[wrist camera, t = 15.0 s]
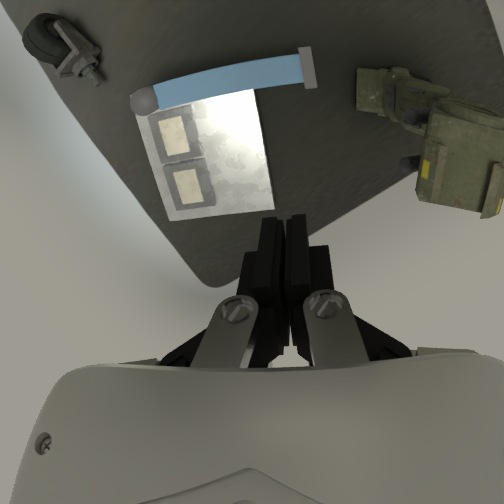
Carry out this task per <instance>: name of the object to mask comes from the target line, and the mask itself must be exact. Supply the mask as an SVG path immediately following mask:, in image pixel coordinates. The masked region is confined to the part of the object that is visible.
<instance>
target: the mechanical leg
mask: <svg viewBox="0 0 504 504" xmlns="http://www.w3.org/2000/svg"><path fill="white" fill-rule="evenodd" d="M388 71H389V72H388ZM356 72H357V78H356V109H357V110H358V111H365V112H372V113H378V114H377V115H378V116H384V117H386V116H388V117H389V120H390V121H393V122H399V123H400V125H401V126H402V127H403V128H405V129H406V130H408V131H411V132H414V133H417V134H420V135H423V142H422V150H421V155H417V156H410V157H404V158H402V159H401V160H400V163H399V167H400V169H401V170H402V172H404V173H411V172H416V171H418V178H417V183H416V189H415V191H416V194H417V196H418V198H419V201H423V202H429V203H434V204H440V205H445V206H450V207H455V208H460V209H465V210H470V211H475V212H480V213H482V214H481V217H480V219H484V218H490V217H493V216H495V215H497V214H499V211H500V209H501V205H502V202H503V198H504V115H502V114H500V113H498V112H497V111H496V110H495V109H494V108H493V107H491V106H488V105H486V104H483V103H481V102H477V101H473V100H469V99H465V98H462V97H459V96H456V95H454V94H452V93H451V92H450V90H449V89H448V88H446V87H443V86H440V85H437V84H434V83H432V82H431V81H430V80H429V79H427V78H423V77H420V76H416V75H413V74H409V71H408V69H405V68H401V67H391V69H382V68H380V69H379V70H377V69H367V68H357V69H356Z"/></svg>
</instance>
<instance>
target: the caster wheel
mask: <svg viewBox="0 0 504 504" xmlns="http://www.w3.org/2000/svg"><path fill="white" fill-rule="evenodd" d="M22 41H23V43H24V47H25V48H26V49H27V51H28V52H29V53H30V54H31V55H32V56H34V57H35V58H37V59H38V60H40V61H42V62H45V63H47V65H48V66H49V67H50V69H51V70H52V71H53V73H54V74H55V75H56V77H57V78H62V77H67V76H74V75H75V76H76V77H78V78H82V77H84V76H86V77H88V78H89V80H90V81H91V82H92V83H93V85H94V86H95V87H98V86H99V85H100V84H101V83H102V82H101V80H100V79H99V78H98V76H97V75H96V73H95V72H94V70H95V68H96V67H97V65H98V63H99V62H98V60H97V59H96V57H97V56H98V55H99V54H100V52H101V50H100V49H99V48H98V47H94V46H93V45H92V44H91V43H90V42H89V41H88V40H86V39H85V38H84V37H83V36H82V35H81V34H80V33H79V32H78V30H77V29H76V28H75V27H74V26H73V25H72V24H71V23H70V22H68V21H67V20H66V19H64V18H62V17H60V16H58V15H55V14H50V13H42V14H39V15H37V16H36V17H35V18H33V19H32V20H31V22H30V23H29V25H28V26H27V27H26V29H25V30H24V33H23V38H22Z"/></svg>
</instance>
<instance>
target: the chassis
mask: <svg viewBox="0 0 504 504" xmlns="http://www.w3.org/2000/svg"><path fill="white" fill-rule="evenodd" d="M131 96H132V95H130V97H131ZM135 115H136V118H137V122H138V125H139V129H140V132H141V135H142V138H143V142H144V145H145V148H146V151H147V154H148V158H149V161H150V164H151V167H152V170H153V173H154V176H155V179H156V182H157V185H158V188H159V191H160V194H161V197H162V200H163V203H164V206H165V209H166V212H167V214H168V217H169V220H170V221H177V220H184V219H192V218H200V217H208V216H217V215H225V214H234V213H243V212H252V211H261V210H271V209H275V197H274V192H273V186H272V180H271V174H270V168H269V163H268V157H267V151H266V146H265V140H264V135H263V129H262V124H261V119H260V113H259V108H258V103H257V97H256V92H255V89H252V90H247V91H241V92H236V93H231V94H226V95H221V96H216V97H211V98H207V99H202V100H198V101H194V102H190V103H186V104H182V105H178V106H174V107H170V108H167V109H163V110H160V109H158V110H156V111H154V112H153V113H151V114H149V115H147V116H139V115H137V114H135Z"/></svg>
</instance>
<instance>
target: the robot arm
mask: <svg viewBox="0 0 504 504" xmlns="http://www.w3.org/2000/svg"><path fill="white" fill-rule="evenodd" d="M290 327H291V334H292V341H293V346H297V351H298V354H299V355H300V356H302V357H303V358H304V359H305V360H307V361H308V364H309V366H306V367H284V368H283V367H282V368H272V360H273V359H275V358H276V357H277V356H279V355H283V350H284V346H289V334H290ZM10 504H504V362H503V361H502V360H499V359H497V358H494V357H491V356H487V355H481V354H478V353H477V352H475V351H473V350H468V349H444V348H425V347H418V348H417V350H409V348H408V347H407V346H405V345H404V344H403V343H401V342H399V341H398V340H396V339H394V338H393V337H391V336H389V335H388V334H386V333H384V332H382V331H381V330H379V329H377V328H376V327H374V326H372V325H371V324H369V323H367V322H365V321H364V320H362V319H360V318H359V317H357V316H356V315H354V314H353V312H352V309H351V307H350V304H349V302H348V299H347V298H346V297H345V295H343V294H342V293H341V292H338V291H336V290H334V284H333V276H332V269H331V262H330V254H329V247H328V245H322V246H310V247H309V242H308V231H307V222H306V214H298V215H292V219H287V223H286V238H285V231H284V225H283V220H278V219H277V217H267V218H263V219H262V225H261V232H260V238H259V244H258V251H252V252H246V253H245V255H244V259H243V264H242V269H241V274H240V279H239V284H238V289H237V293H236V296H232V297H229V298H227V299H225V300H223V301H222V302H221V303H220V304H219V305H218V307H217V308H216V310H215V312H214V314H213V316H212V319H211V321H210V323H209V325H208V327H207V328H206V329H205V330H203V331H202V332H200V333H199V334H197V335H196V336H194V337H193V338H191V339H190V340H188V341H187V342H185V343H184V344H182V345H181V346H179V347H178V348H176V349H175V350H173V351H172V352H170V353H168V354H167V355H166V356H165V357H164V358H163V359H162V360H161V361H158V360H157V359H156V358H155V359H148V360H141V361H134V362H127V363H119V364H97V365H90V366H85V367H81V368H78V369H75V370H72V371H70V372H68V373H66V374H65V375H63V376H62V377H61V378H60V379H59V380H58V381H57V383H56V384H55V386H54V387H53V389H52V390H51V392H50V394H49V395H48V397H47V399H46V401H45V403H44V405H43V407H42V409H41V412H40V414H39V416H38V418H37V420H36V423H35V425H34V427H33V430H32V433H31V435H30V438H29V441H28V443H27V446H26V449H25V452H24V455H23V458H22V461H21V464H20V467H19V470H18V474H17V477H16V481H15V484H14V488H13V492H12V497H11V500H10Z"/></svg>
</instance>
